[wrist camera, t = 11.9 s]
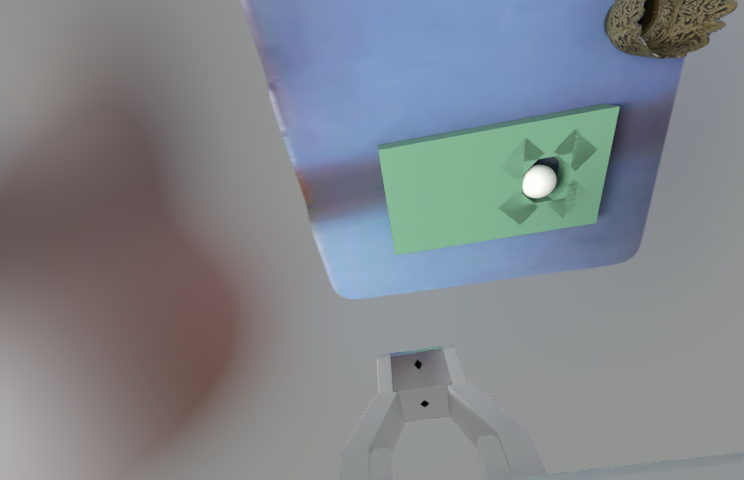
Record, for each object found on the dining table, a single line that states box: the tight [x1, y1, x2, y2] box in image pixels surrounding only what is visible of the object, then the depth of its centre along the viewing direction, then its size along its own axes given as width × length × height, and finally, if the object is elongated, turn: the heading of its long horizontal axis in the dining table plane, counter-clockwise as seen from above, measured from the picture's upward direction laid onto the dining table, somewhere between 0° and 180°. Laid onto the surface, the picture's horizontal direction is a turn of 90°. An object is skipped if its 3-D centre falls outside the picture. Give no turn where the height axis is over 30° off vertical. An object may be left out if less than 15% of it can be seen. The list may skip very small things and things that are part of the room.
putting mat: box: [378, 104, 620, 255], centre depth 38 cm, size 14×26×2 cm, turn 100°
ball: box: [522, 165, 557, 198], centre depth 37 cm, size 4×4×4 cm
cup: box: [604, 0, 737, 59], centre depth 27 cm, size 8×7×8 cm
